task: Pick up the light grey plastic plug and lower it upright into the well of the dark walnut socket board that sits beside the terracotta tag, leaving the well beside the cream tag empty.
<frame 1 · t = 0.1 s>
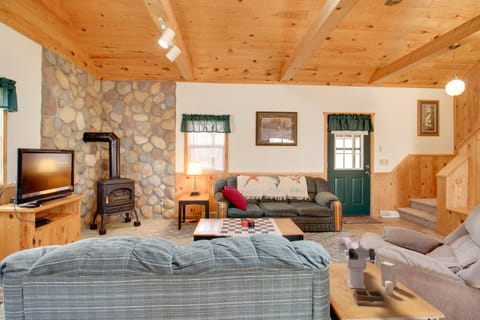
hand: (365, 257, 135), 22 cm above the table, tool horizontal, fingers open, 7 cm apart
plug: (389, 293, 143), on the table
socket board: (369, 301, 136), on the table
skincare box: (388, 286, 153), on the table
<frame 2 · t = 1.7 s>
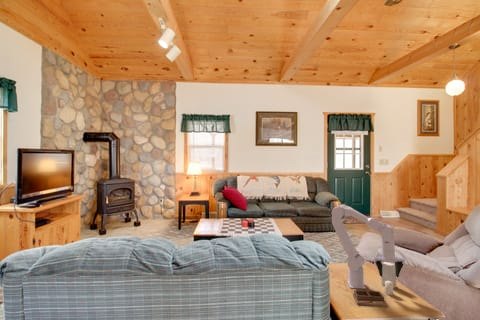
hand: (388, 276, 143), 9 cm above the table, tool pointing down, fingers open, 7 cm apart
nothing on the table moved.
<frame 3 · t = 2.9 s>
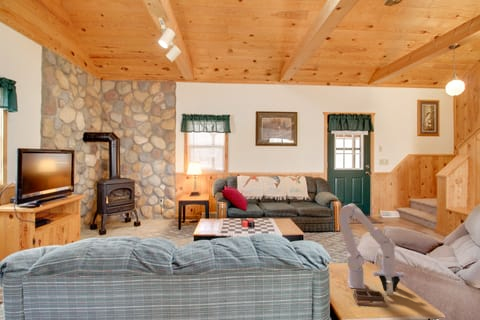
hand: (389, 290, 143), 2 cm above the table, tool pointing down, fingers closed on plug, 4 cm apart
plug: (389, 293, 143), on the table, touching gripper
everything else where it was.
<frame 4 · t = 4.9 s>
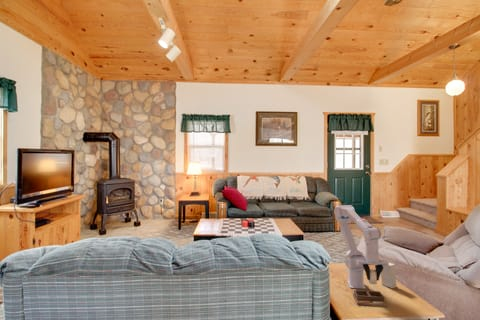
hand: (372, 279, 140), 9 cm above the table, tool pointing down, fingers closed on plug, 4 cm apart
plug: (372, 282, 140), point 7 cm above the table, touching gripper
everything else where it was.
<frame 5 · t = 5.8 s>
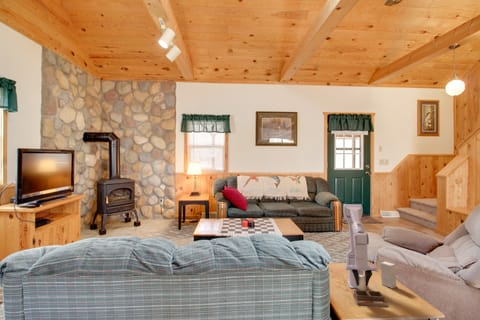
hand: (361, 285, 138), 7 cm above the table, tool pointing down, fingers closed on plug, 4 cm apart
plug: (361, 288, 138), point 5 cm above the table, touching gripper
everything else where it was.
when the fingers open (4 cm above the table, at t = 6.7 s): plug drops 1 cm, resting on socket board.
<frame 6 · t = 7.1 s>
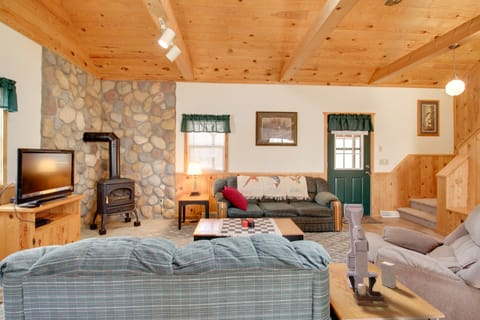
hand: (362, 291, 138), 4 cm above the table, tool pointing down, fingers open, 7 cm apart
plug: (362, 297, 138), point 1 cm above the table, touching socket board
everything else where it was.
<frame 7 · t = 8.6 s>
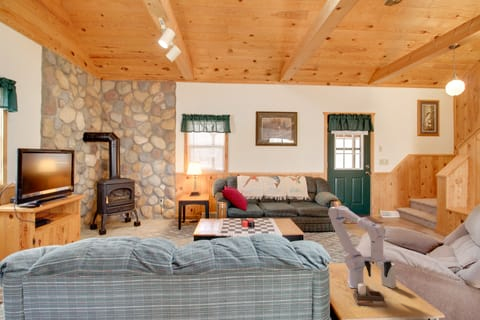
hand: (377, 276, 142), 9 cm above the table, tool pointing down, fingers open, 7 cm apart
nothing on the table moved.
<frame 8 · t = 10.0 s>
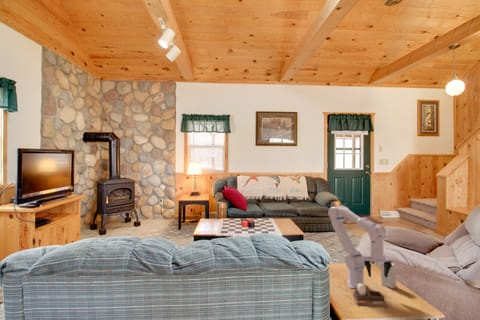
hand: (377, 276, 142), 9 cm above the table, tool pointing down, fingers open, 7 cm apart
nothing on the table moved.
at the end: plug 0.0 cm from the target spot on the socket board, point 1.1 cm above the socket board's base; plug tilted 2°; the gripper is holding nothing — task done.
